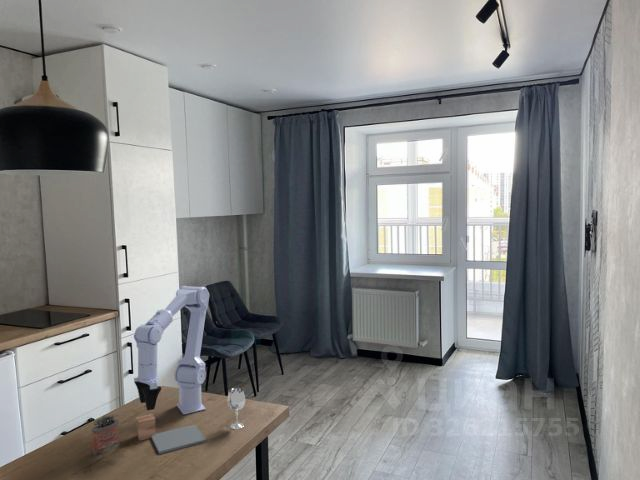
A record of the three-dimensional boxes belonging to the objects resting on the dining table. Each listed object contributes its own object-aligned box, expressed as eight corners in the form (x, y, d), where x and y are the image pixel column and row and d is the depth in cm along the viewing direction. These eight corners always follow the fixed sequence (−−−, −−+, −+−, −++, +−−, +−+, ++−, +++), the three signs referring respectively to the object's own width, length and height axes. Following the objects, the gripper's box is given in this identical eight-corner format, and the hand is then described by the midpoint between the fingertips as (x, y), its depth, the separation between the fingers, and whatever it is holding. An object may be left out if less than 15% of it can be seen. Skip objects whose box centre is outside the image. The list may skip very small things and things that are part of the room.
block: (137, 435, 154) (136, 417, 154) (153, 431, 157) (152, 413, 157) (139, 440, 151) (138, 422, 151) (155, 436, 154) (155, 418, 153)
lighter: (115, 441, 150) (113, 410, 150) (121, 444, 148) (120, 413, 148) (90, 452, 144) (88, 420, 143) (96, 456, 142) (94, 423, 141)
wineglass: (242, 430, 156) (241, 394, 156) (225, 429, 158) (224, 393, 157) (248, 422, 162) (247, 388, 161) (232, 421, 163) (231, 386, 162)
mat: (150, 437, 153) (150, 435, 153) (195, 426, 160) (194, 424, 160) (159, 454, 142) (159, 451, 142) (206, 441, 149) (205, 439, 149)
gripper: (129, 359, 156) (128, 401, 157) (140, 370, 144) (140, 415, 145) (151, 356, 160) (151, 397, 161) (164, 366, 148) (163, 410, 149)
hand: (147, 405), depth 153 cm, fingers open, 7 cm apart
